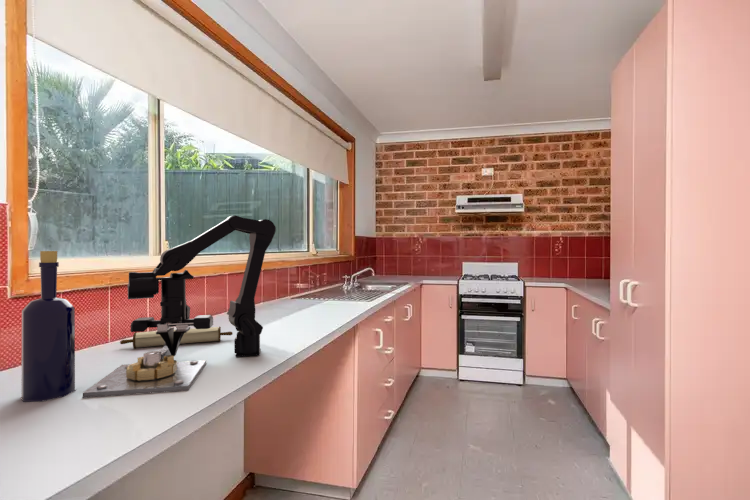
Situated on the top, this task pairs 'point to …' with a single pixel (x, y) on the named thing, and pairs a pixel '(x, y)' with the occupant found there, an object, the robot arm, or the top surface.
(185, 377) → the flange plate
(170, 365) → the lever handle
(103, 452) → the top surface
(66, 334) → the bottle
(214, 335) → the rolling pin
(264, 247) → the robot arm
